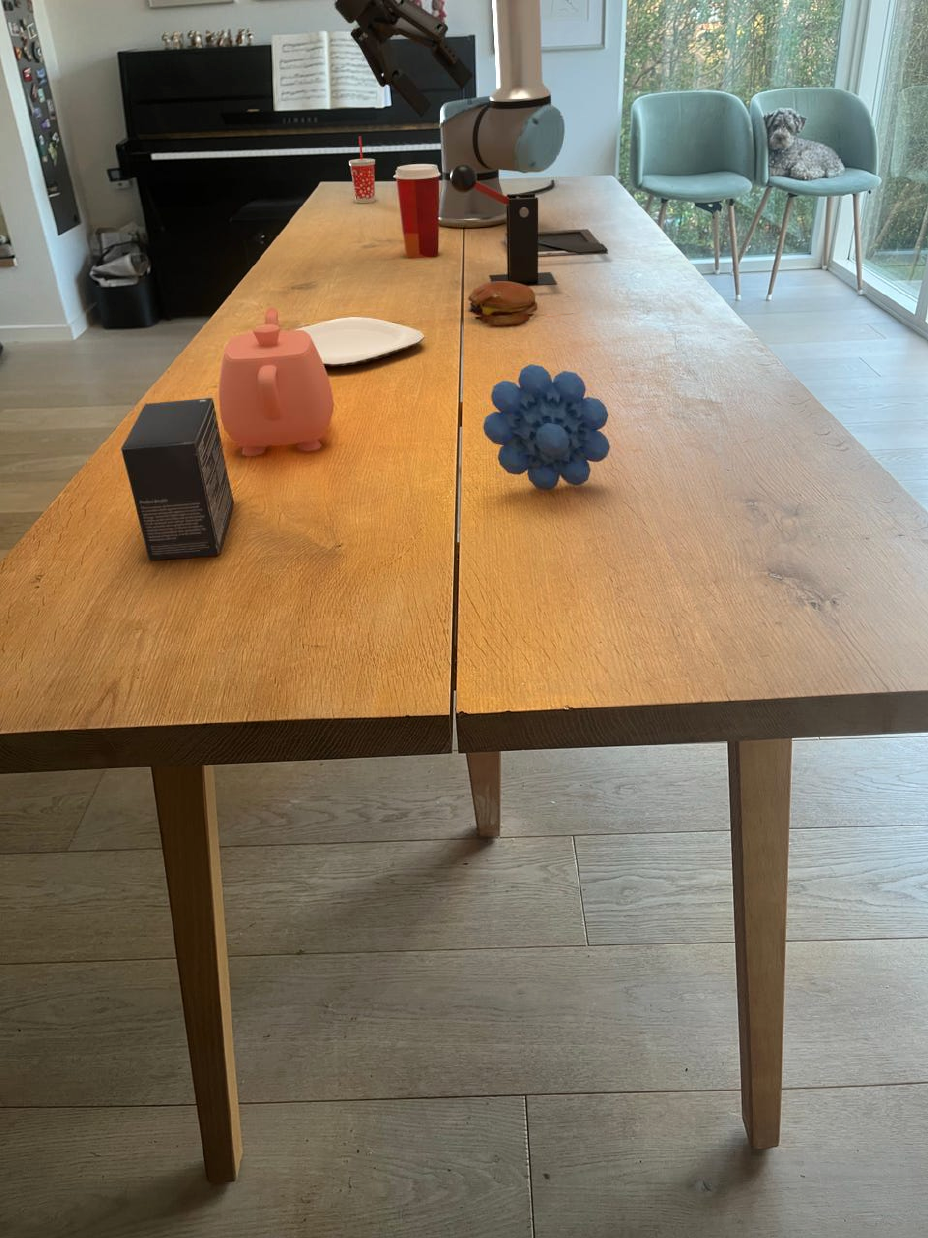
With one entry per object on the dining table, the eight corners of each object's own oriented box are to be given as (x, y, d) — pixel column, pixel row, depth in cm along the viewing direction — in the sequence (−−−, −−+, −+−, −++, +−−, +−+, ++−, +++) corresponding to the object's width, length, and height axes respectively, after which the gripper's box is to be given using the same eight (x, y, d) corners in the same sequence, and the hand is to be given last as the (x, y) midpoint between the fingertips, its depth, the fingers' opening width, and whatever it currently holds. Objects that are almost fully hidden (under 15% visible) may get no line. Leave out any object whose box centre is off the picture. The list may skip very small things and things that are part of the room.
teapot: (339, 467, 99) (326, 348, 93) (220, 477, 98) (198, 358, 92) (334, 400, 116) (323, 296, 110) (232, 409, 115) (214, 304, 108)
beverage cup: (352, 200, 237) (346, 135, 229) (377, 198, 237) (372, 134, 230) (352, 204, 231) (346, 138, 224) (378, 202, 232) (373, 137, 224)
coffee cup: (446, 250, 184) (442, 162, 177) (441, 259, 178) (437, 169, 170) (402, 250, 185) (396, 163, 177) (395, 260, 178) (389, 170, 170)
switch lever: (446, 187, 147) (458, 160, 145) (445, 183, 151) (456, 157, 149) (525, 227, 151) (537, 202, 149) (522, 222, 154) (534, 198, 152)
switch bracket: (493, 296, 154) (491, 202, 147) (489, 284, 161) (487, 193, 154) (556, 293, 154) (558, 198, 147) (550, 281, 161) (551, 190, 154)
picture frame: (607, 261, 172) (587, 237, 189) (608, 249, 171) (587, 226, 188) (516, 266, 171) (504, 241, 189) (516, 254, 170) (504, 230, 188)
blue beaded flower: (490, 513, 89) (486, 384, 82) (482, 482, 95) (478, 359, 88) (617, 504, 89) (623, 374, 83) (602, 474, 95) (607, 351, 89)
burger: (531, 306, 148) (530, 274, 145) (541, 324, 140) (541, 290, 138) (465, 311, 147) (464, 279, 145) (472, 328, 140) (470, 295, 137)
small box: (165, 508, 92) (141, 400, 87) (235, 503, 93) (216, 395, 87) (143, 562, 83) (115, 445, 78) (221, 556, 84) (199, 439, 78)
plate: (356, 323, 144) (355, 311, 143) (441, 346, 133) (440, 333, 132) (252, 353, 133) (250, 340, 132) (335, 380, 122) (333, 367, 121)
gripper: (304, 33, 158) (399, 137, 168) (368, -38, 136) (473, 86, 146) (330, 0, 159) (423, 106, 169) (398, -75, 138) (499, 50, 148)
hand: (446, 97), depth 158 cm, fingers open, 13 cm apart
